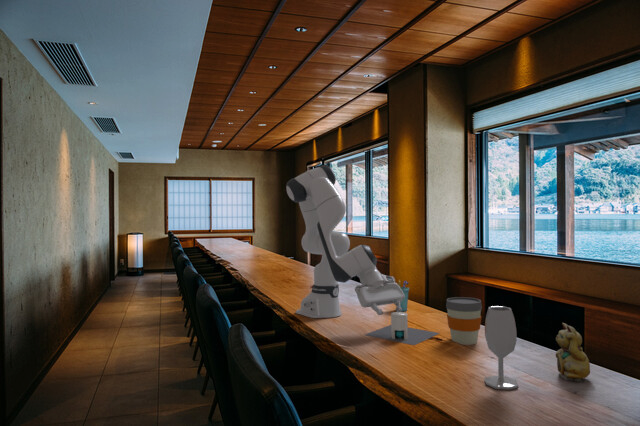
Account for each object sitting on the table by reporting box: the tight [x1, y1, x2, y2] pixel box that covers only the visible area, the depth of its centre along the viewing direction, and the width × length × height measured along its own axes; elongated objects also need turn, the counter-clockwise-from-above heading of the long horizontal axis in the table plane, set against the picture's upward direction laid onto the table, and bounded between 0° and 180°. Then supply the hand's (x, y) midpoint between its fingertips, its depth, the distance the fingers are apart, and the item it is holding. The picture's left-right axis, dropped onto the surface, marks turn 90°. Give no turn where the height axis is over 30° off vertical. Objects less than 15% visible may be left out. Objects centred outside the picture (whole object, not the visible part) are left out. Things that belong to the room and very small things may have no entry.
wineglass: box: [484, 305, 519, 391], centre depth 125 cm, size 9×9×21 cm
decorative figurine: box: [555, 322, 591, 382], centre depth 129 cm, size 10×8×15 cm
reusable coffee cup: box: [445, 296, 483, 346], centre depth 166 cm, size 13×13×15 cm
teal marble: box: [396, 330, 404, 338], centre depth 171 cm, size 3×3×3 cm
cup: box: [395, 279, 410, 313], centre depth 218 cm, size 14×8×15 cm, turn 13°
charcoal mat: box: [364, 324, 441, 346], centre depth 176 cm, size 22×20×1 cm
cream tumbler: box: [390, 311, 409, 340], centre depth 171 cm, size 6×6×9 cm
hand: (390, 312), depth 173 cm, fingers open, 8 cm apart
